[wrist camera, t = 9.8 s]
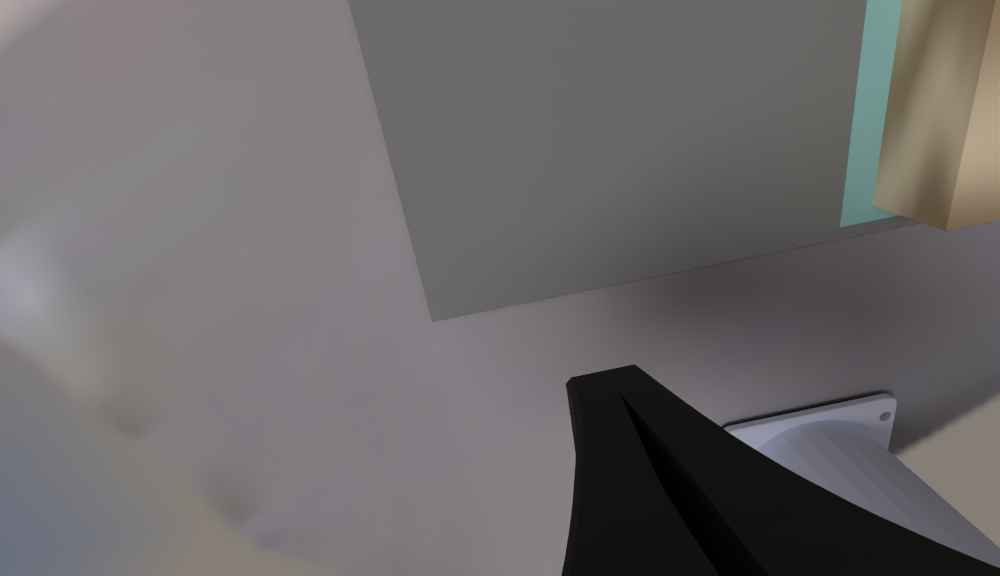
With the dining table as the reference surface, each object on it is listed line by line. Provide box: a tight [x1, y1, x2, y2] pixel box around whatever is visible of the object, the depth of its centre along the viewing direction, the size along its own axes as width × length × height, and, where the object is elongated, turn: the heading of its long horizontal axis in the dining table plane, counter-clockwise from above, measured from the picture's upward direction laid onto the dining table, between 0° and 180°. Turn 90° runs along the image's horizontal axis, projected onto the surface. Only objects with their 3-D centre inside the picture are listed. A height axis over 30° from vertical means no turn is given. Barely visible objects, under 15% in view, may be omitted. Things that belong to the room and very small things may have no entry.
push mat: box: [349, 0, 921, 322], centre depth 16 cm, size 14×30×1 cm, turn 100°
